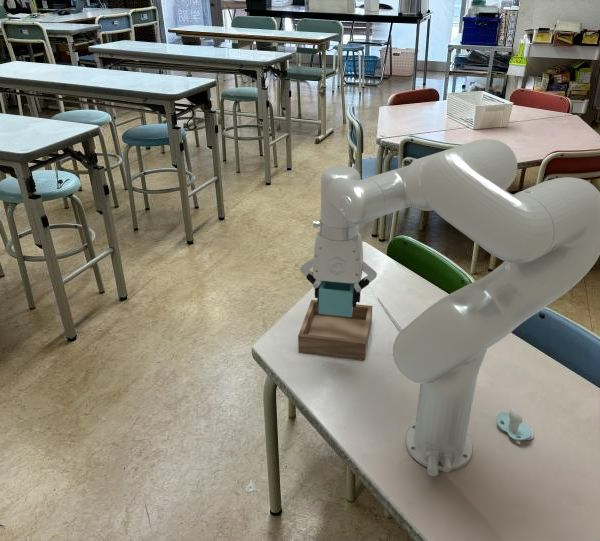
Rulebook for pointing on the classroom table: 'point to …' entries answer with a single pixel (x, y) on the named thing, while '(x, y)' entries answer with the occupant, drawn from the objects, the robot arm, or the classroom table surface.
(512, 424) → the pacifier
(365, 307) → the big crate
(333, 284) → the small crate
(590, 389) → the classroom table surface
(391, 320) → the magic wand
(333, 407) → the classroom table surface
